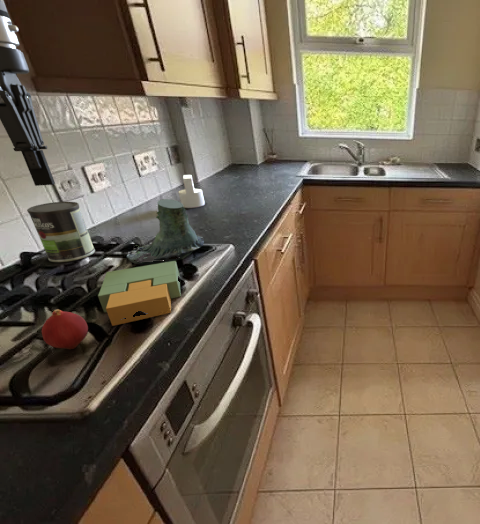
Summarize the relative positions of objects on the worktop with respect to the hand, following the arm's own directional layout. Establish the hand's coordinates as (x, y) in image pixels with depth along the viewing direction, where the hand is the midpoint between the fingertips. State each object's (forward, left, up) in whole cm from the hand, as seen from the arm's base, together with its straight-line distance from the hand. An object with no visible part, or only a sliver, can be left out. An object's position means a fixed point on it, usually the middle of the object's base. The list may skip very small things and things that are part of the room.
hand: (45, 184), depth 66 cm
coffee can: (-7, +25, -24) cm, 36 cm away
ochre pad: (+12, -15, -24) cm, 31 cm away
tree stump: (+17, +15, -24) cm, 33 cm away
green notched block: (+12, -8, -24) cm, 28 cm away
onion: (+2, -24, -24) cm, 35 cm away
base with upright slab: (+26, +68, -24) cm, 77 cm away
